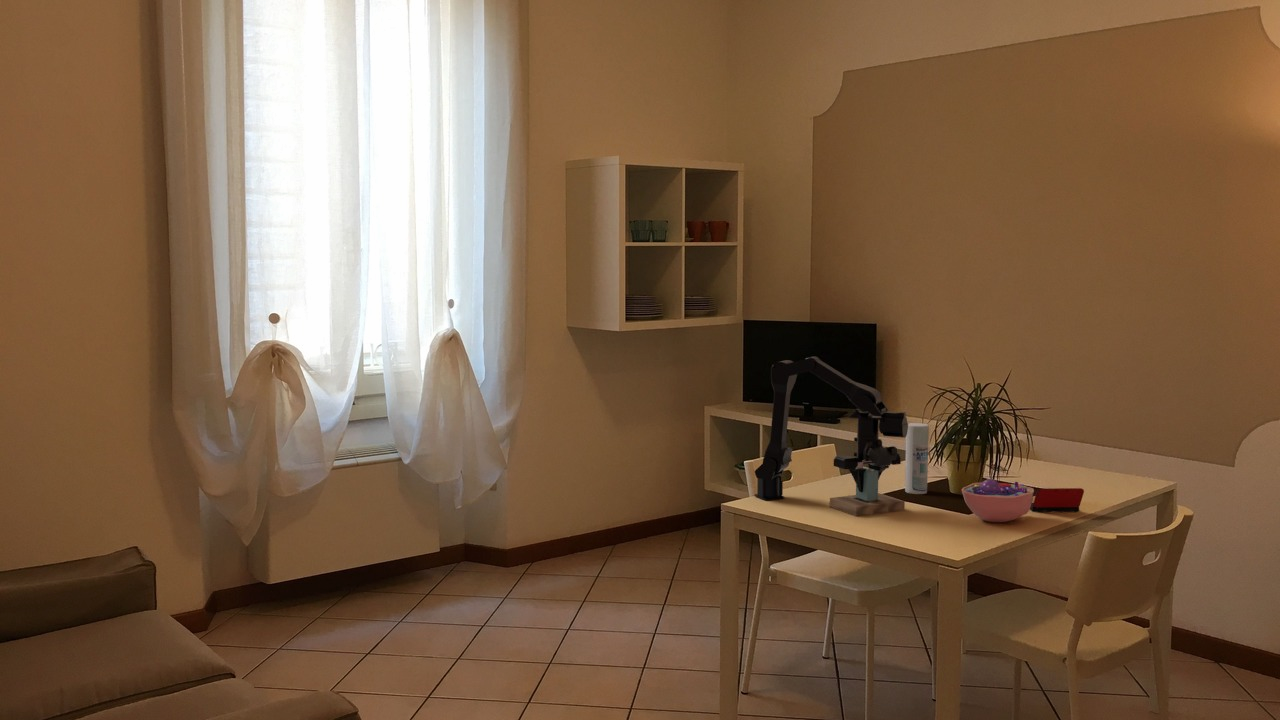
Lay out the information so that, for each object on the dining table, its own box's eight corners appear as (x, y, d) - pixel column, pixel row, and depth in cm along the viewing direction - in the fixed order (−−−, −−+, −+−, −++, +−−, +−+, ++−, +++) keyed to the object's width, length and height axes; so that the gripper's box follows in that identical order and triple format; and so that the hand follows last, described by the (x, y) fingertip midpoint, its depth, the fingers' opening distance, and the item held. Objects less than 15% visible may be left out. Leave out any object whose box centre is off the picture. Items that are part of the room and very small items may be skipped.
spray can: (917, 488, 302) (918, 422, 300) (932, 492, 296) (933, 425, 295) (900, 490, 299) (901, 423, 298) (914, 495, 294) (916, 426, 292)
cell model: (1050, 522, 262) (1052, 479, 261) (997, 532, 252) (998, 487, 251) (998, 509, 276) (999, 468, 275) (945, 518, 266) (946, 475, 265)
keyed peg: (855, 497, 279) (856, 467, 278) (866, 495, 280) (867, 466, 279) (867, 500, 274) (867, 470, 273) (877, 499, 275) (878, 469, 275)
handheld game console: (1068, 506, 280) (1069, 480, 279) (1084, 516, 269) (1085, 488, 268) (1022, 506, 280) (1023, 479, 280) (1036, 515, 269) (1037, 488, 269)
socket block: (856, 516, 269) (856, 507, 268) (829, 506, 279) (829, 497, 279) (904, 510, 275) (904, 501, 275) (876, 501, 286) (877, 492, 286)
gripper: (857, 441, 264) (856, 500, 266) (914, 436, 272) (913, 493, 273) (832, 435, 274) (831, 492, 276) (888, 430, 282) (887, 486, 284)
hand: (866, 491), depth 277 cm, fingers closed on keyed peg, 4 cm apart
